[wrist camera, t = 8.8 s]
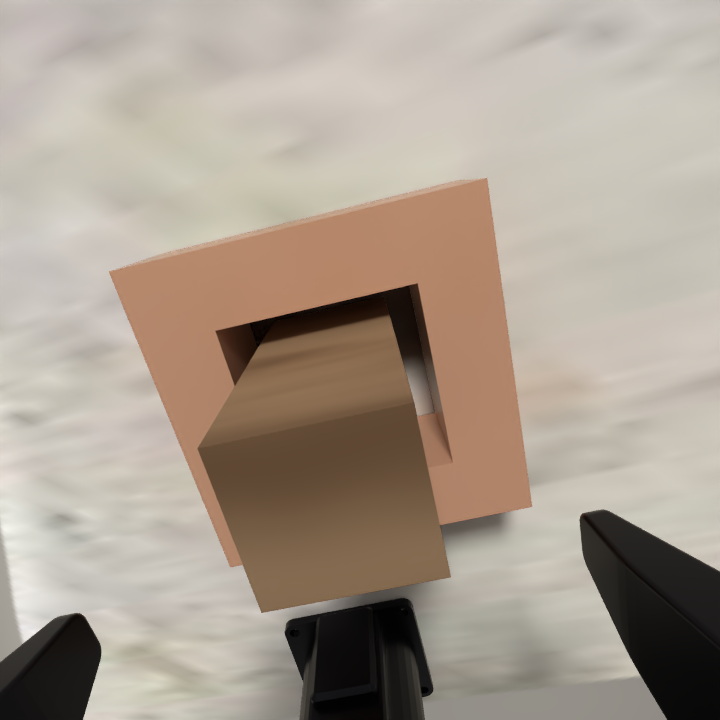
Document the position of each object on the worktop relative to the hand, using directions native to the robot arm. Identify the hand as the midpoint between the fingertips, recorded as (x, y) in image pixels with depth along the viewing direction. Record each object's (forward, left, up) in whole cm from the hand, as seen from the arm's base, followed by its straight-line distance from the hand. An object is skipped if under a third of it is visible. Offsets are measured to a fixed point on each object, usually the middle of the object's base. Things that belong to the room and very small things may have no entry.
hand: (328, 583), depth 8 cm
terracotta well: (0, 0, -12) cm, 12 cm away
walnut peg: (0, 0, -12) cm, 12 cm away
